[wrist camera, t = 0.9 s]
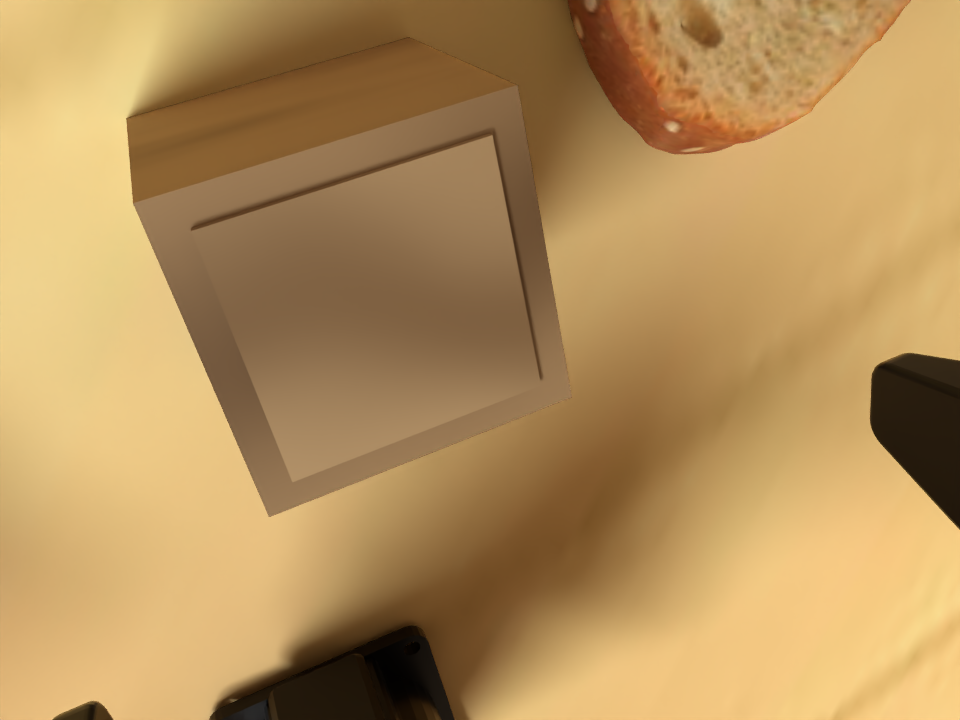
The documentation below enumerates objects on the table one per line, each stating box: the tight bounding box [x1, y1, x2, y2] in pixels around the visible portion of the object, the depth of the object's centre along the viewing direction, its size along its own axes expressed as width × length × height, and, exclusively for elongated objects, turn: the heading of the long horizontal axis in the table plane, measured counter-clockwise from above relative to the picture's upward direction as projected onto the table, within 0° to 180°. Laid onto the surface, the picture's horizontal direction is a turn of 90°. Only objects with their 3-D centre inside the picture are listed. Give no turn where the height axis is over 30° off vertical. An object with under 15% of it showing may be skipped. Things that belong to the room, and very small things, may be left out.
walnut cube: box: [126, 38, 572, 517], centre depth 17 cm, size 6×6×6 cm
